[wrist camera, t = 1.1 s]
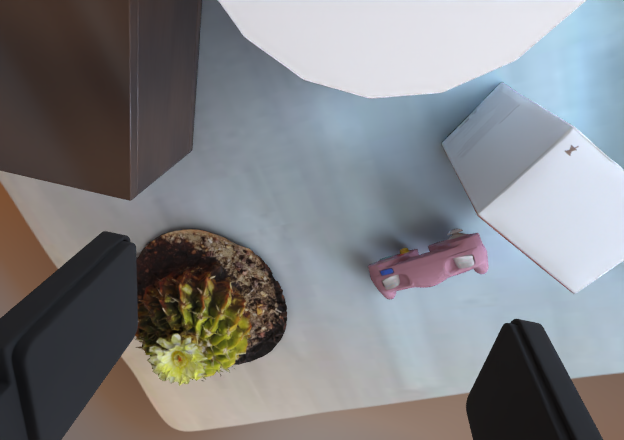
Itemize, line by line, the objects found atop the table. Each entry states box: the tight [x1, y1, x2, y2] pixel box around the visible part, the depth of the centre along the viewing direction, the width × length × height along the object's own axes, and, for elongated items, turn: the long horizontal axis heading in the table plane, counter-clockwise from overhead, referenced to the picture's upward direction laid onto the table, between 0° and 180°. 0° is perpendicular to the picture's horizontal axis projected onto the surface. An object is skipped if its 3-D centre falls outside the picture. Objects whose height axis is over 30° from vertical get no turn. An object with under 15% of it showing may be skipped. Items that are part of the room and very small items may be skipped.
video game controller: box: [368, 229, 488, 299], centre depth 37 cm, size 10×5×7 cm, turn 114°
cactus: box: [135, 229, 287, 386], centre depth 40 cm, size 17×16×10 cm
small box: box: [442, 82, 624, 294], centre depth 28 cm, size 8×6×13 cm
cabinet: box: [0, 0, 202, 201], centre depth 29 cm, size 17×15×11 cm
